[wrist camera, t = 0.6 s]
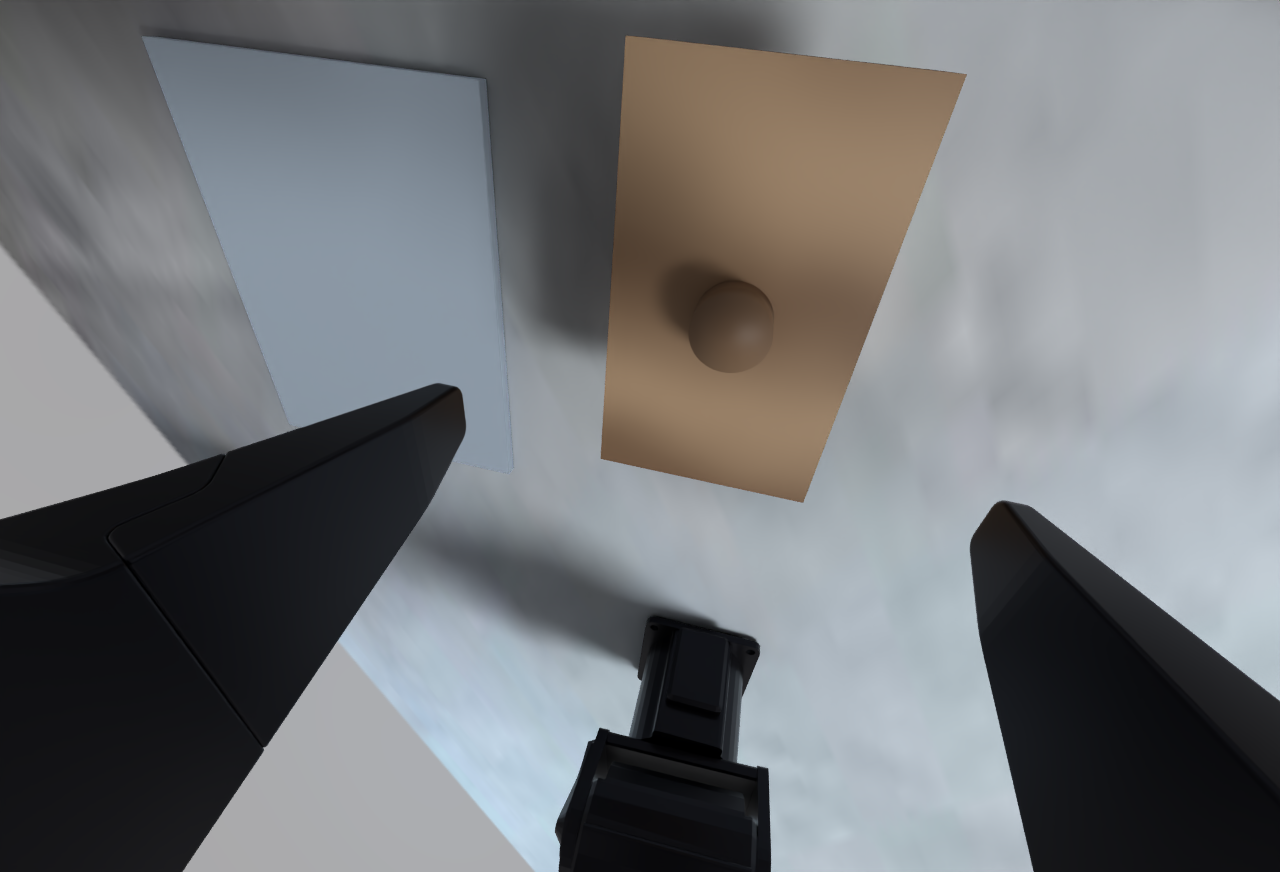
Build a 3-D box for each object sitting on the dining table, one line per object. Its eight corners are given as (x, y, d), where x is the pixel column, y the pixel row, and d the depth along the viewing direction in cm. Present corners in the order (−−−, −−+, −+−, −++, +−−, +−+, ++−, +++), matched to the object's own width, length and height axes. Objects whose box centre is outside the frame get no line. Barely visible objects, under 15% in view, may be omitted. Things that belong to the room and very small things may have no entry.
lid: (802, 462, 18) (803, 525, 16) (616, 424, 19) (591, 478, 16) (942, 71, 11) (982, 76, 9) (646, 37, 12) (612, 34, 10)
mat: (513, 467, 26) (509, 474, 26) (296, 419, 28) (289, 424, 27) (486, 79, 17) (478, 79, 16) (155, 36, 18) (141, 35, 18)
